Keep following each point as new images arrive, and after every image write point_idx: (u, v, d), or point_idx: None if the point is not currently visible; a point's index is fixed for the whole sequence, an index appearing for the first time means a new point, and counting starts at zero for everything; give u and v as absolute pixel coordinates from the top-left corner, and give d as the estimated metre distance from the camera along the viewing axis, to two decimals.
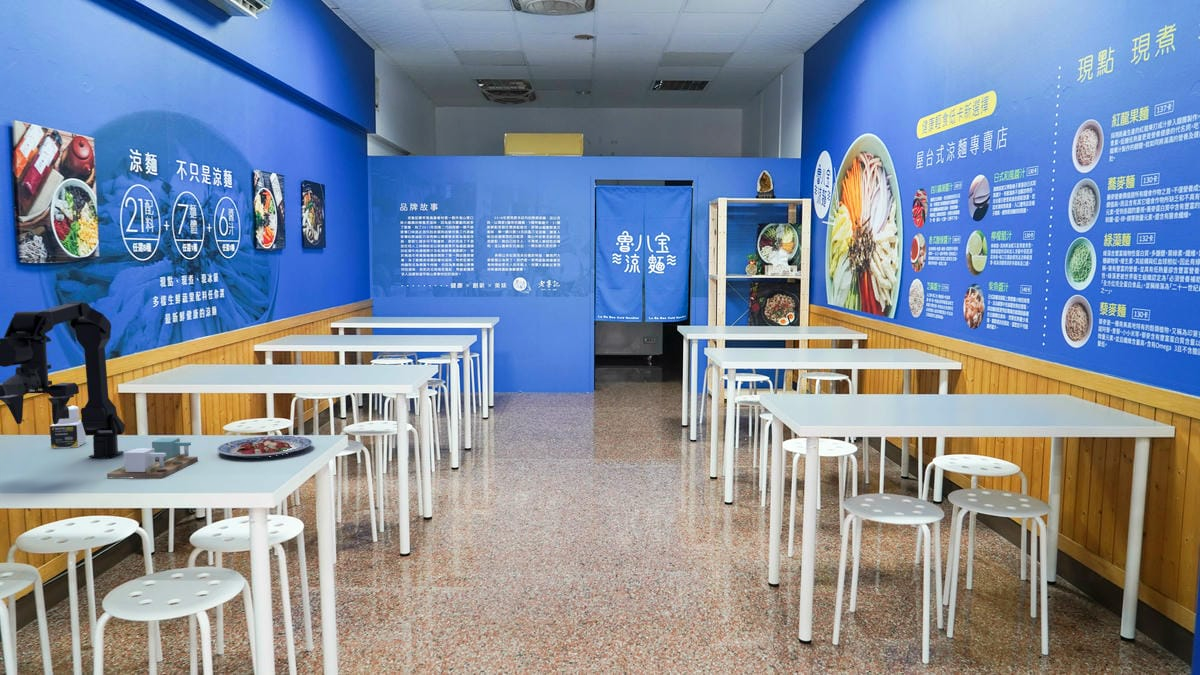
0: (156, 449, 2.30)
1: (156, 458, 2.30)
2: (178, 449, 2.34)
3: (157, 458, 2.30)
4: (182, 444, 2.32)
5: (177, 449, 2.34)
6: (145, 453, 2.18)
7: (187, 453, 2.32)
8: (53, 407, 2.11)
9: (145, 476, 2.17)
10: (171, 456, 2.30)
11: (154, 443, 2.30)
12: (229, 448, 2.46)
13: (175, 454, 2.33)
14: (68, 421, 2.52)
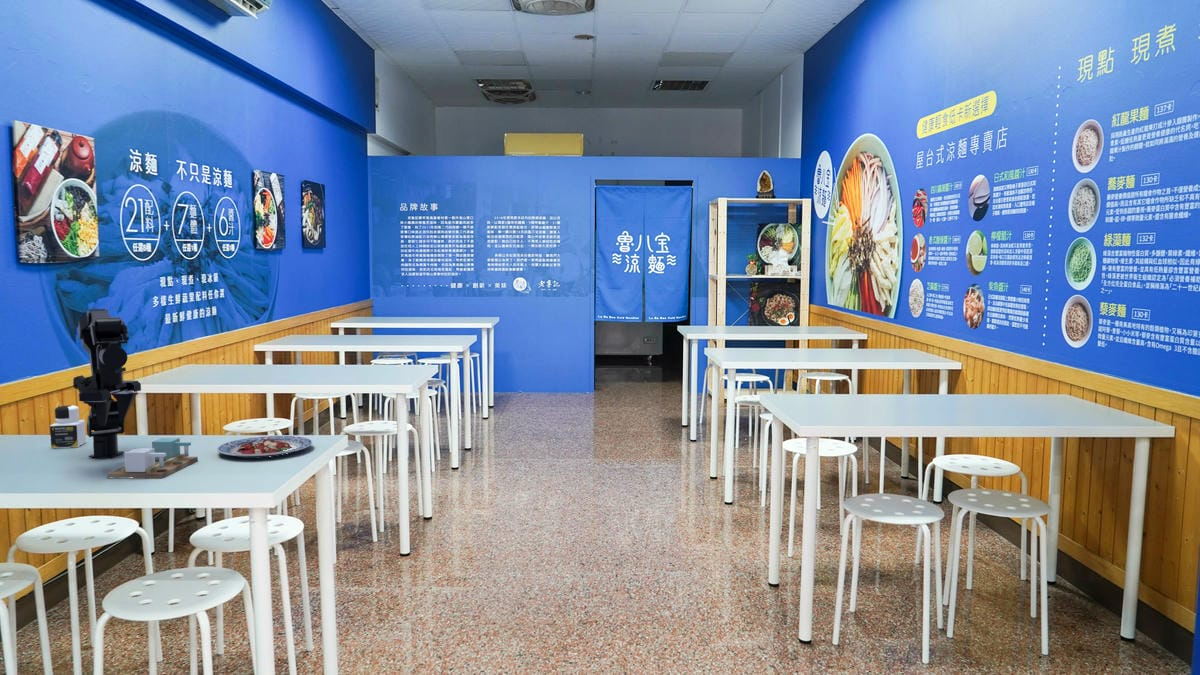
0: (156, 449, 2.30)
1: (156, 458, 2.30)
2: (178, 449, 2.34)
3: (157, 458, 2.30)
4: (182, 444, 2.32)
5: (177, 449, 2.34)
6: (145, 453, 2.18)
7: (187, 453, 2.32)
8: None
9: (145, 476, 2.17)
10: (171, 456, 2.30)
11: (154, 443, 2.30)
12: (229, 448, 2.46)
13: (175, 454, 2.33)
14: (68, 421, 2.52)
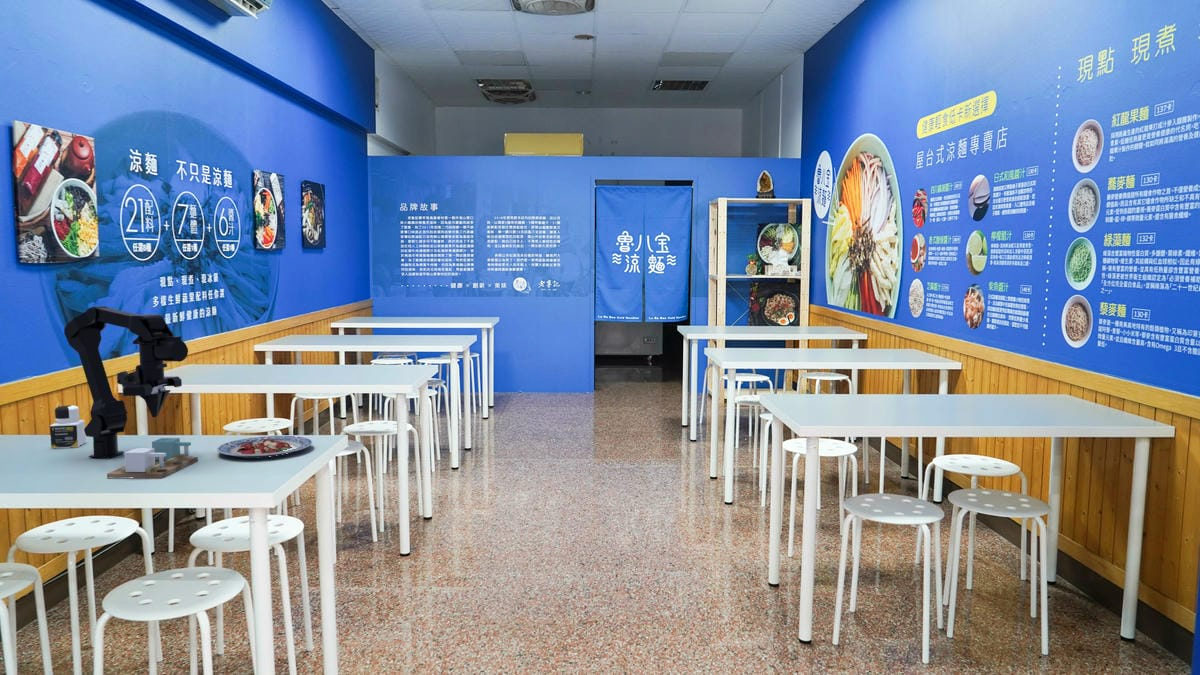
0: (156, 449, 2.30)
1: (156, 458, 2.30)
2: (178, 449, 2.34)
3: (157, 458, 2.30)
4: (182, 444, 2.32)
5: (177, 449, 2.34)
6: (145, 453, 2.18)
7: (187, 453, 2.32)
8: None
9: (145, 476, 2.17)
10: (171, 456, 2.30)
11: (154, 443, 2.30)
12: (229, 448, 2.46)
13: (175, 454, 2.33)
14: (68, 421, 2.52)
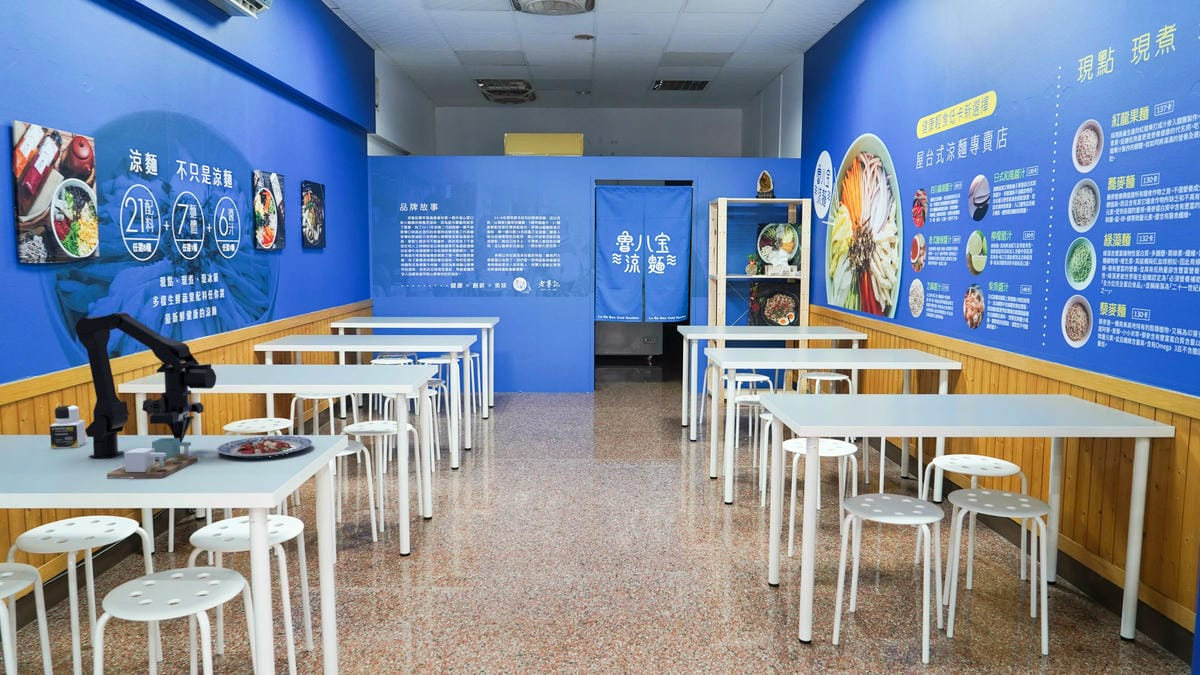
0: (156, 449, 2.30)
1: (156, 458, 2.30)
2: (178, 449, 2.34)
3: (157, 458, 2.30)
4: (182, 444, 2.32)
5: (177, 449, 2.34)
6: (145, 453, 2.18)
7: (187, 453, 2.32)
8: None
9: (145, 476, 2.17)
10: (171, 456, 2.30)
11: (154, 443, 2.30)
12: (229, 448, 2.46)
13: (175, 454, 2.33)
14: (68, 421, 2.52)
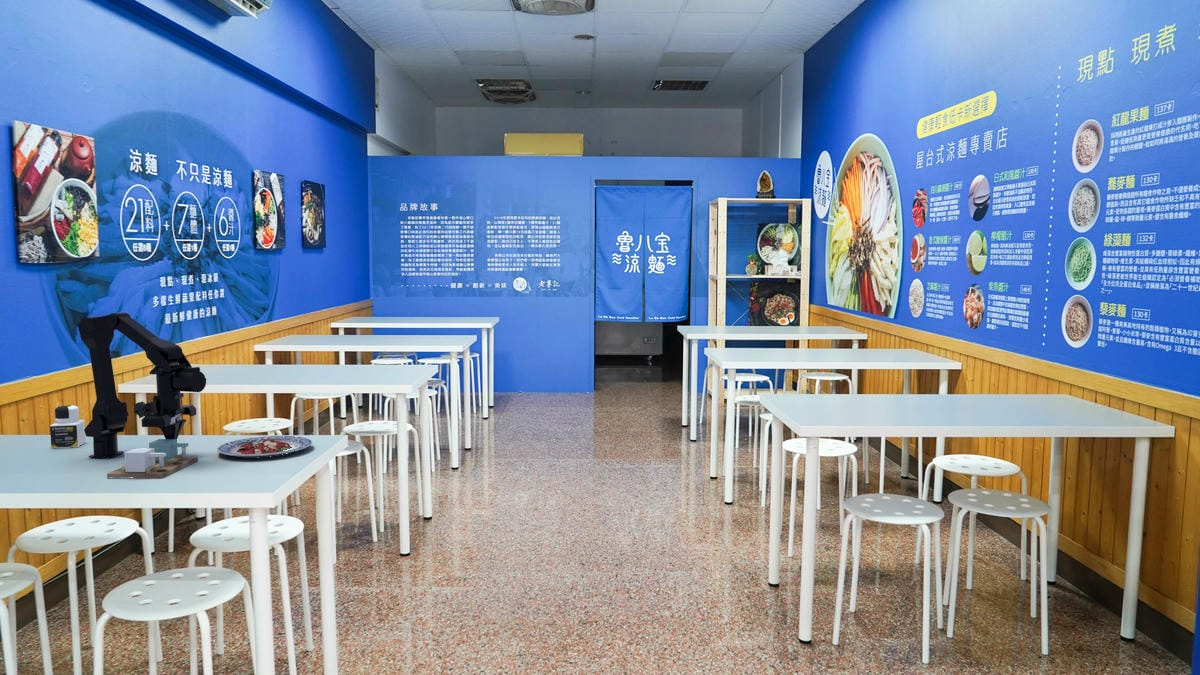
0: None
1: None
2: (175, 450, 2.33)
3: None
4: (179, 445, 2.30)
5: (174, 450, 2.32)
6: (145, 453, 2.18)
7: (184, 454, 2.31)
8: None
9: (145, 476, 2.17)
10: (168, 457, 2.29)
11: (151, 444, 2.28)
12: (229, 448, 2.46)
13: (172, 455, 2.31)
14: (68, 421, 2.52)
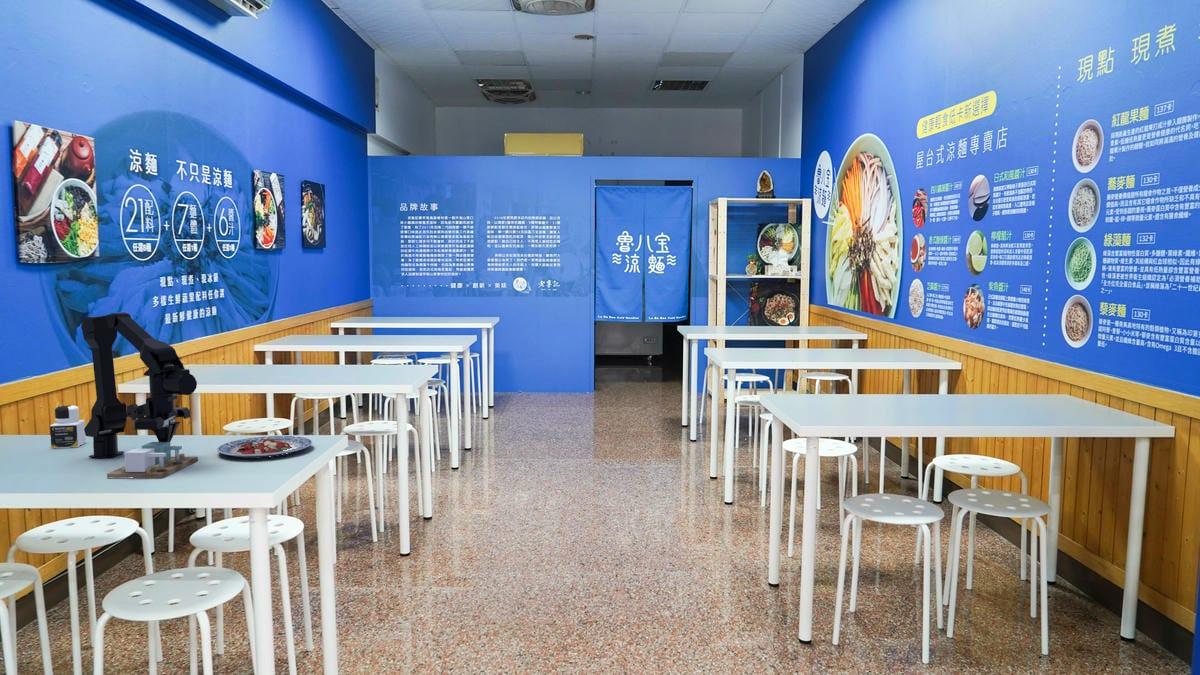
0: None
1: None
2: (169, 453, 2.29)
3: None
4: (173, 448, 2.27)
5: (168, 453, 2.29)
6: (145, 453, 2.18)
7: (178, 457, 2.27)
8: None
9: (145, 476, 2.17)
10: None
11: (144, 447, 2.25)
12: (229, 448, 2.46)
13: (165, 458, 2.28)
14: (68, 421, 2.52)
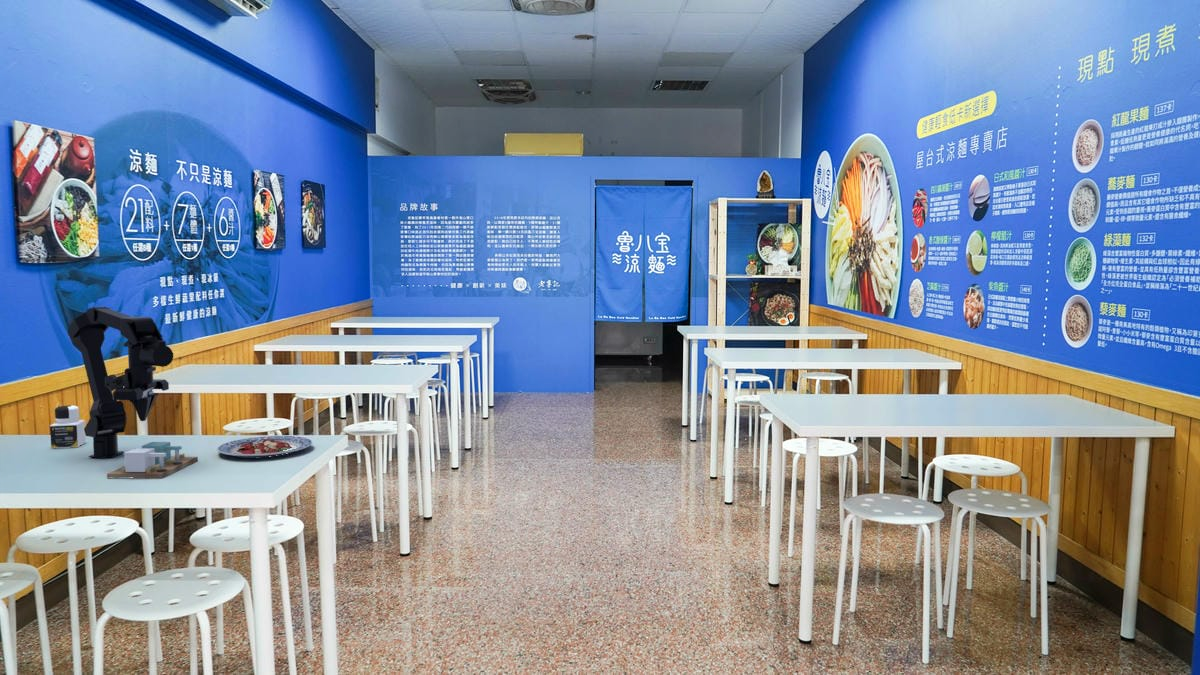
0: None
1: None
2: (169, 453, 2.29)
3: None
4: (173, 448, 2.27)
5: (168, 453, 2.29)
6: (145, 453, 2.18)
7: (178, 457, 2.27)
8: None
9: (145, 476, 2.17)
10: None
11: (144, 447, 2.25)
12: (229, 448, 2.46)
13: (165, 458, 2.28)
14: (68, 421, 2.52)
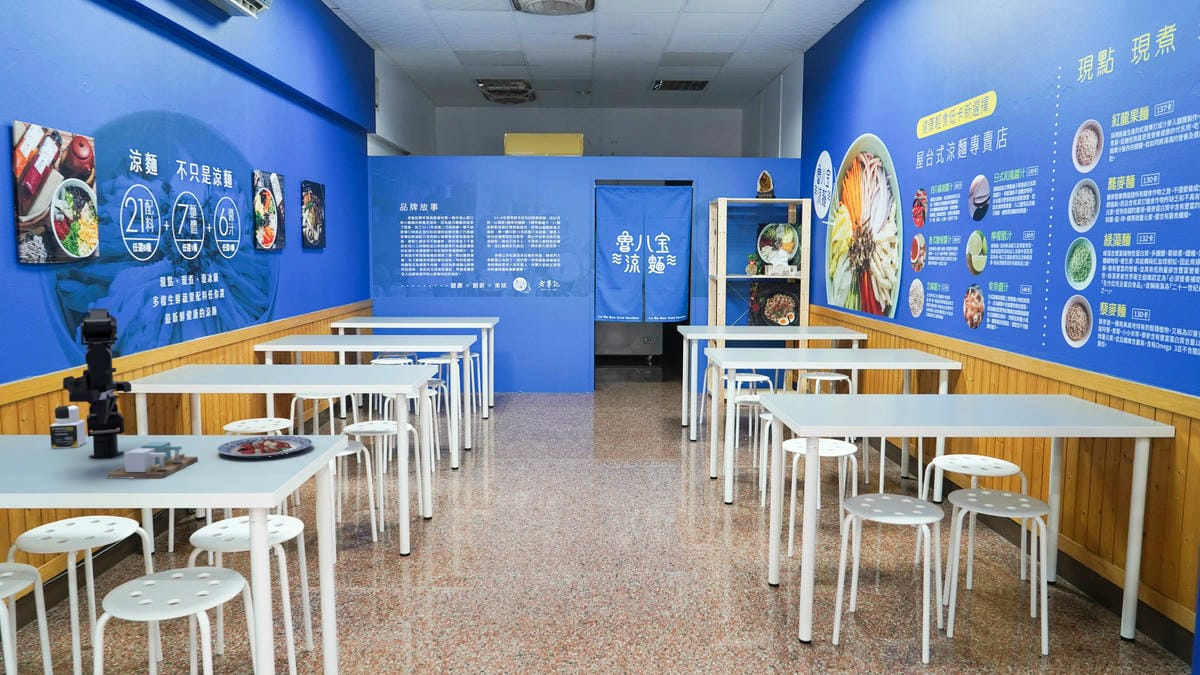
0: None
1: None
2: (169, 453, 2.29)
3: None
4: (173, 448, 2.27)
5: (168, 453, 2.29)
6: (145, 453, 2.18)
7: (178, 457, 2.27)
8: None
9: (145, 476, 2.17)
10: None
11: (144, 447, 2.25)
12: (229, 448, 2.46)
13: (165, 458, 2.28)
14: (68, 421, 2.52)
